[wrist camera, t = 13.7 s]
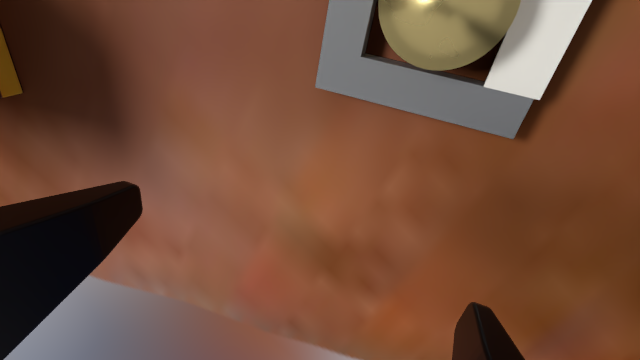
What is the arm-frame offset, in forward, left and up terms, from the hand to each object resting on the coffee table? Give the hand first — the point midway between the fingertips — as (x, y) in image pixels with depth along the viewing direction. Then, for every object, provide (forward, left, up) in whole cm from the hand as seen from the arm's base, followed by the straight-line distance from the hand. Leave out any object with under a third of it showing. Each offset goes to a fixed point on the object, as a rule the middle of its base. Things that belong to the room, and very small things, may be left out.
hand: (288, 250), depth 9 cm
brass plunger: (-2, -6, -11) cm, 13 cm away
